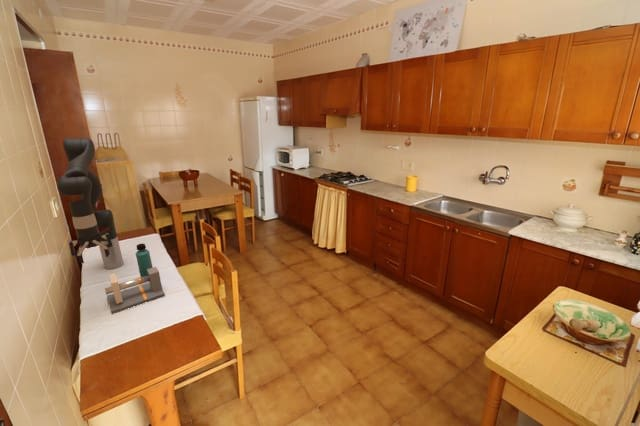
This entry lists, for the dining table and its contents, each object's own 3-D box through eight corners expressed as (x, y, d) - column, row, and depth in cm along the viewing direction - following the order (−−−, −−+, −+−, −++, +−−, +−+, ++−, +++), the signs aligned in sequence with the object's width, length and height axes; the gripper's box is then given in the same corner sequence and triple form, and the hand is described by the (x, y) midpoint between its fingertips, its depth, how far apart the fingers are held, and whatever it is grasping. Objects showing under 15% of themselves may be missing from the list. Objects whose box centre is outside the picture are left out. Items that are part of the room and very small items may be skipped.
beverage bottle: (157, 276, 164) (151, 243, 158) (147, 282, 159) (140, 248, 152) (148, 274, 166) (141, 241, 160) (137, 280, 161) (130, 246, 154)
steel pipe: (105, 292, 139) (104, 286, 138) (151, 278, 151) (150, 273, 150) (106, 296, 137) (105, 290, 136) (153, 281, 148) (152, 275, 147)
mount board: (107, 298, 146) (101, 277, 142) (157, 282, 159) (153, 263, 155) (111, 314, 135) (105, 292, 131) (165, 296, 148) (161, 275, 144)
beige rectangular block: (113, 294, 144) (108, 275, 141) (119, 292, 146) (115, 273, 142) (116, 303, 138) (111, 283, 134) (123, 301, 139) (118, 281, 136)
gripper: (104, 218, 132) (113, 251, 138) (63, 226, 124) (73, 261, 129) (107, 223, 127) (116, 257, 133) (64, 231, 118) (75, 268, 124)
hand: (95, 259), depth 131 cm, fingers open, 8 cm apart
